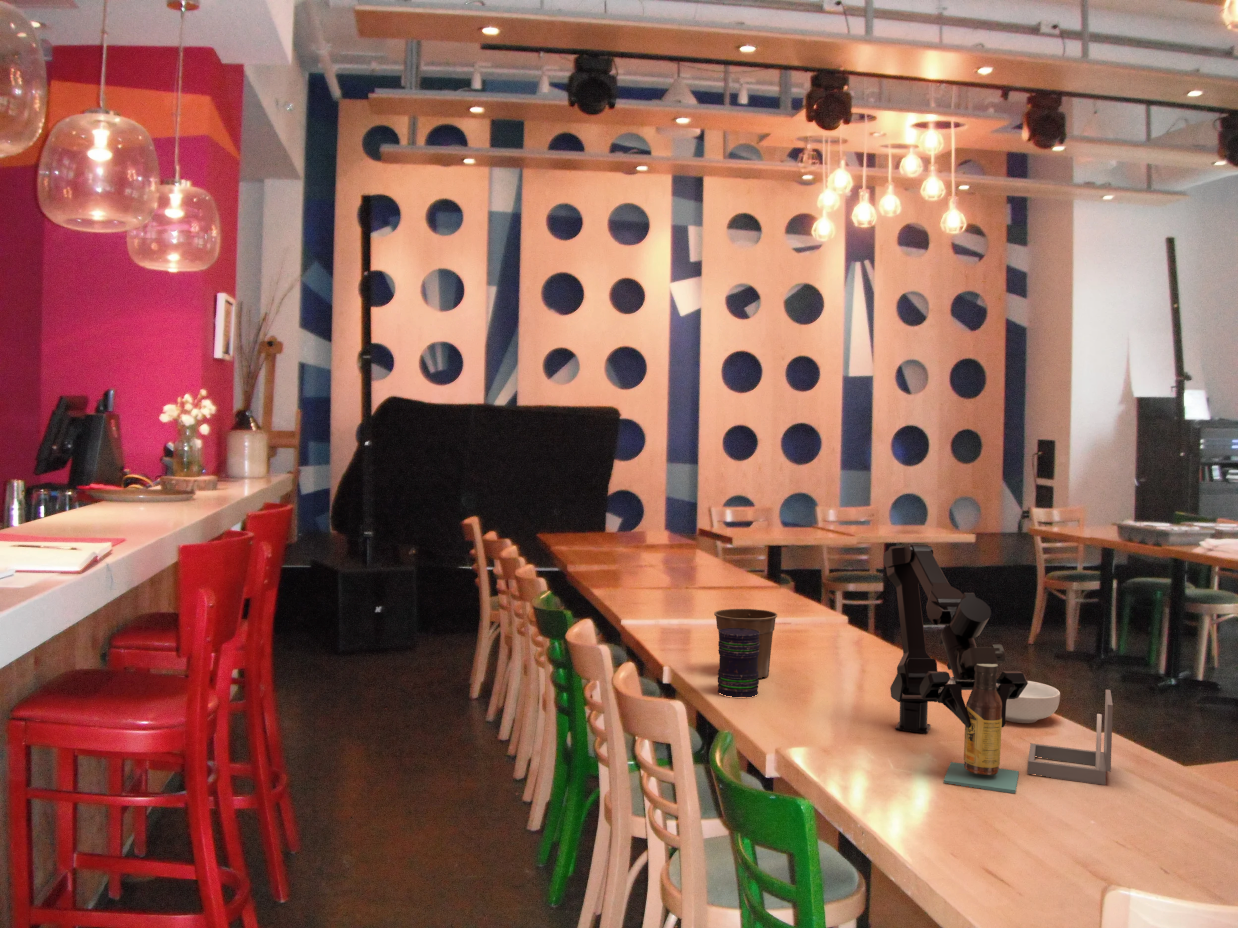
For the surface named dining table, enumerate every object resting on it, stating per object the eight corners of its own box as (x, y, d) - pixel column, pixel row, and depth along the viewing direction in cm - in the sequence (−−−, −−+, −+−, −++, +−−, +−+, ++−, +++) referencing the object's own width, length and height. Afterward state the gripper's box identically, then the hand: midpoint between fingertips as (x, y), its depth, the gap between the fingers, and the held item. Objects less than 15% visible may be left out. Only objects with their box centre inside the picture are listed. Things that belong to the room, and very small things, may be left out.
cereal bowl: (964, 717, 233) (965, 685, 233) (998, 705, 245) (999, 675, 245) (1039, 733, 221) (1040, 700, 221) (1071, 719, 233) (1072, 688, 233)
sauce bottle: (961, 764, 194) (965, 657, 193) (997, 767, 192) (1001, 660, 192) (965, 775, 187) (969, 664, 187) (1002, 778, 186) (1006, 667, 185)
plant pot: (706, 678, 266) (707, 615, 266) (720, 666, 282) (722, 606, 281) (769, 684, 261) (771, 620, 261) (780, 671, 276) (782, 610, 276)
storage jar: (753, 699, 245) (755, 636, 245) (712, 695, 248) (714, 633, 248) (762, 690, 254) (763, 629, 254) (722, 686, 257) (724, 626, 257)
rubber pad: (950, 764, 197) (950, 761, 197) (1018, 774, 193) (1018, 770, 193) (943, 783, 186) (943, 780, 186) (1015, 793, 182) (1015, 790, 182)
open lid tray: (1030, 755, 204) (1032, 681, 204) (1107, 765, 199) (1110, 689, 199) (1027, 774, 192) (1029, 696, 192) (1110, 785, 187) (1112, 705, 187)
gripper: (927, 628, 192) (950, 703, 181) (1024, 628, 194) (1053, 703, 183) (910, 661, 200) (931, 735, 189) (1003, 661, 202) (1029, 734, 191)
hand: (986, 726), depth 188 cm, fingers closed on sauce bottle, 6 cm apart
